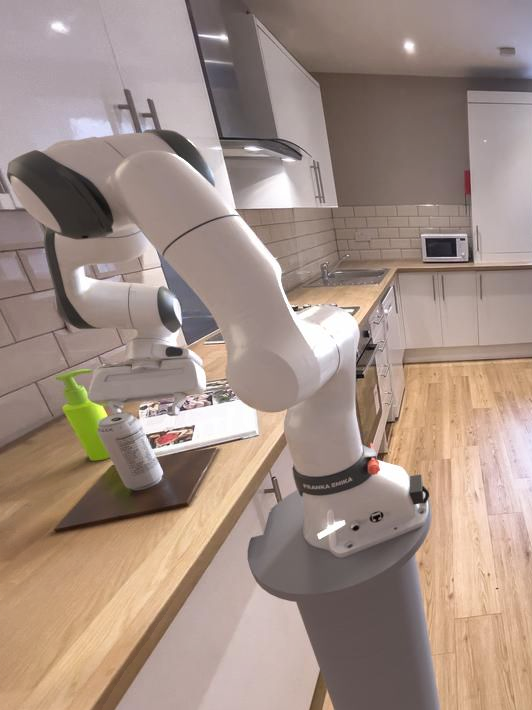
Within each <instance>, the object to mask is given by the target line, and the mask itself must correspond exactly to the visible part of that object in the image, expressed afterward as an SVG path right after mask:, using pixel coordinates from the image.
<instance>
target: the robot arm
mask: <svg viewBox="0 0 532 710" xmlns="http://www.w3.org/2000/svg"><path fill="white" fill-rule="evenodd" d="M6 177H7V179H8V181H9V184H10V186H11V188H12V191H13V193H14V196H15V197H16V199H17V200H18V202H19V203H20V205H21V206H22V207H23V208H24V209H25V211H26V212H27V213H28V214H29V215H31V216H32V217H33V218H34V219H35V220H36V221H38V222H39V223H40V224H42V225H44V226H45V227H46V228H45V231H44V237H43V246H44V247H43V248H44V253H45V258H46V262H47V268H48V270H49V274H50V279H51V281H52V286H53V289H54V290H53V291H54V295H55V296H54V298H55V299H54V300H55V301H54V302H55V303H54V305H55V309H56V311H57V314H58V316H59V318H60V319H61V320H63V321H64V322H66V323H67V324H69V325H70V326H72V327H74V328H76V329H78V330H93V329H94V330H97V329H98V330H99V329H101V330H102V329H114V330H115V329H116V330H127V331H128V334H129V335H128V338H127V340H126V341H125V348H124V349H125V350H124V358H123V361H119V362H118V361H117V362H107V363H103V364H102V363H101V365H100V366H98V367H96V368H94V370H93V371H92V378H91V381H90V384H89V387H88V391H87V393H88V396H87V397H88V399H89V400H90V401H91V402H93V403H95V404H98V405H100V406H103V407H106V406H108V408H109V409H110V410H111V412H112V414H117V413H123V411H122V410H121V409H122V408H124V404H131V403H139V402H145V401H155V400H164V399H172V398H173V399H175V400H174V402H173V403H172V404H171V405H168V406H167V407H166V410H167V411H166V415H168V416H169V417H174V416H175V417H176V416H180V409H181V408H182V406H183V405H184V404H185V402H186V401H187V397H189V396H199V395H202V394H204V393H205V391H206V390H207V378H206V371H205V369H203V359H202V358H201V357H200V356H199V355H198V354H196V353H195V352H194V351H192V350H191V349H189V348H187V347H182V346H178V343H177V339H178V337H179V334H180V328H181V327H182V325H183V305H182V302H181V300H180V298H179V297H178V296H177V294H175V293H174V292H172V290H170V288H167V287H166V286H164V285H158V284H154V283H153V284H152V283H139V282H127V281H126V282H125V281H115V280H114V281H113V280H103V279H96V278H93V277H92V278H91V277H88V276H86V271H85V267H87V266H88V267H89V266H95V265H108V264H110V265H111V264H121V263H122V264H123V263H127V262H131V261H133V260H135V259H137V258H140V257H141V256H143V255H144V254H145V253H146V252H148V251H149V250H150V248H151V247H153V248H154V249H155V250H156V251H157V253H159V254H160V256H161V257H162V258H163V259H164V260H165V261H166V262H167V263H168V265H169V266H170V267H171V268H172V269H173V270H174V271H175V272H176V273H177V274H178V276H179V277H180V278H181V280H183V281H184V282H185V283H186V284H187V286H188V287H189V288H190V289H191V290H192V292H193V293H195V295H196V296H197V297H198V299H200V301H201V302H202V303H203V305H204V306H205V307H206V308H207V310H208V311H209V313H210V315H211V316H212V318H213V319H214V321H215V323H216V326H217V327H218V330H219V331H220V334H221V337H222V340H223V342H224V346H225V350H226V364H225V379H226V382H227V385H228V387H229V388H230V391H232V393H233V395H234V396H235V397H236V398H237V399H238V400H239V401H241V402H242V403H243V404H244V405H246V406H248V407H249V408H251V409H254V410H256V411H259V412H262V413H269V414H270V413H271V414H275V413H281V412H284V411H286V412H285V415H284V419H283V433H284V436H285V440H286V444H287V446H288V450H289V453H290V457H291V460H292V463H293V464H292V465H293V466H292V468H291V469H292V477H293V481H294V484H295V487H296V490H298V491H299V494H300V496H302V501H303V509H304V526H303V535H304V538H305V540H306V541H307V542H308V543H309V544H311V545H312V546H314V547H317V548H321V549H326V550H329V551H330V552H331V553H332V554H334V555H335V556H336V557H339V558H343V557H347V556H349V555H352V554H354V553H357V552H359V551H362V550H364V549H367V548H369V547H372V546H374V545H377V544H379V543H382V542H384V541H387V540H389V539H392V538H394V537H397V536H399V535H402V534H404V533H407V532H409V531H412V530H414V529H417V528H419V527H421V526H423V525H424V523H425V521H426V519H427V517H428V511H429V506H428V498H430V492H429V490H428V488H427V487H425V486H424V482H423V475H422V474H415V475H409V474H408V473H407V471H406V470H405V469H404V468H403V467H402V466H400V465H397V464H392V463H390V462H386V461H383V460H379V459H378V456H377V452H376V450H375V447H374V445H373V443H372V442H370V447H368V446H365V444H363V443H362V438H361V433H360V428H359V423H358V417H357V407H356V390H357V389H356V387H357V386H356V385H357V384H356V383H357V381H356V379H357V351H358V346H359V343H360V337H361V335H360V334H361V333H360V327H359V325H358V323H357V321H356V319H355V318H354V317H353V316H352V314H351V313H349V312H348V311H346V310H345V309H343V308H341V307H340V306H337V305H330V304H326V305H325V304H324V305H323V304H322V305H314V306H309V307H305V308H302V309H301V310H298V311H297V312H295V311H294V309H293V307H292V306H291V304H290V301H289V299H288V298H287V295H286V293H285V291H284V287H283V284H282V273H283V272H282V267H281V265H280V263H279V261H278V260H277V259H276V257H274V256H273V254H272V253H271V252H270V251H269V249H268V248H267V247H266V245H265V244H264V243H263V241H262V240H260V238H259V237H258V236H257V235H256V233H255V232H254V231H253V230H252V228H251V227H250V226H249V225H248V224H247V222H246V221H245V219H244V218H243V217H242V216H241V215H240V214H239V212H237V210H236V209H235V208H234V207H233V205H232V204H231V203H230V202H229V201H228V200H227V199H226V197H225V196H224V195H223V194H222V193H221V192H220V191H219V190H217V188H216V180H215V175H214V172H213V169H212V168H211V166H210V164H209V162H208V160H207V158H206V157H205V155H204V154H203V153H202V151H201V150H200V149H199V148H198V147H197V146H196V144H194V143H193V142H192V141H191V140H190V139H188V138H187V137H185V136H184V135H182V134H181V133H179V132H177V131H175V130H171V129H161V128H160V129H159V128H158V129H154V128H151V129H145V130H144V131H143V132H131V133H119V134H112V135H111V134H110V135H105V136H99V137H97V136H90V137H85V138H81V139H66V140H65V139H64V140H61V141H57V142H55V143H53V144H51V145H49V147H47V149H45V150H37V149H33V150H31V151H29V152H26V153H23V154H21V155H19V156H17V157H15V158H14V159H12V160H10V161H9V162H8V164H7V171H6ZM408 475H409V476H410V477H409V476H408ZM350 547H351V548H350Z"/></svg>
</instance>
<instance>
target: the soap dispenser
mask: <svg viewBox="0 0 532 710" xmlns="http://www.w3.org/2000/svg"><path fill="white" fill-rule="evenodd" d="M90 373H93V369H90V368H83V369H76V370H71V371H67V372H65V373H62V374H59V375H56V376H55V379H56V380H57V381H61V382H62V383H63V384H64V386H65V388H64V389H63V390H62V394H63V396H64V398H65V399H66V401H67V403H66V404H64V405H62V407H61V409H62V411H63V413H64V415H65V417H66V419H67V421H68V422H69V425H70V426H71V428H72V429H73V432H74V433H75V435H76V436H77V439H78V440H79V442H80V444H81V447H82V448H83V450H84V451H85V453H86V456H87V457H88V458H89V460H90V461H94V462H98V461H103V460H107V459H111V458H110V456H109V454H108V452H107V450H106V448H105V447H104V445H103V443H102V441H101V439H100V437H99V435H98V433H97V431H98V427H99V425H98V421H99V420H101V419H103V418H105V417H107V416H108V414H107V412H106V410H105V407H104V406H100V405H98V404H95V403H93V402H91V401H90V400H89V399H88V397H87V396H88V391H87V389H86V388H85V386H84V385H80V384H78V383H77V381H76V380H75V377H76V376H79V375H84V374H90Z"/></svg>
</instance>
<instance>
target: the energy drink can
mask: <svg viewBox="0 0 532 710" xmlns="http://www.w3.org/2000/svg"><path fill="white" fill-rule="evenodd" d="M122 412H123V411H122ZM98 425H99V427H98V431H97V433H98V435H99V437H100V439H101V441H102V443H103V445H104V447H105V448H106V450H107V452H108V454H109V456H110V458H109V459H110V460H111V462H112V465H114V466H115V467H116V469H117V471H118V473H119V475H120V477H121V479H122V481H123V483H124V485H125V486H126V487H127V488H131V489H132V490H143V489H146V488H149V487H151V486H153V485H155V484H157V483H158V482H159V481H160V480H161V478H162V477H161V476H162V475H163V471H162V469H161V466H160V464H159V462H158V460H157V455H156V454H155V451H154V450H153V447H152V445H151V443H150V440H149V439H148V436H147V435H146V432H145V430H144V428H143V426H142V424H141V422H140V420H139V419H138V418H137V417H135V416H133V415H132V413H131V412H127V411H125V412H123V413H117V414H114V413H112V414H110V415H107V417H105V418H103V419H101V420H99V421H98Z"/></svg>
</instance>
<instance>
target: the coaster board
mask: <svg viewBox="0 0 532 710" xmlns="http://www.w3.org/2000/svg"><path fill="white" fill-rule="evenodd" d="M218 452H219V447H218V446H216V447H209V448H204V449H198V450H193V451H187V452H180V453H174V454H168V455H163V456H156V458H157V460H158V462H159V464H160V466H161V469H162V471H163V475H162V476H161V477H162V478H161V480H160V481H159V482H158V483H157V484H155V485H153V486H151V487H149V488H146V489H143V490H132V489H131V488H127V487H126V486H125V485H124V483H123V481H122V479H121V477H120V475H119V473H118V471H117V469H116V467H115V466H114V464H112V465H110V467H108V469H107V470H106V471H105V472H104V473H103V474H102V476H100V478H99V479H98V480H97V481H96V482H95V483H94V484H93V485H92V486H91V487H90V489H89V490H87V492H86V493H85V494H84V495H83V496H82V497H81V498H80V500H79V501H78V502H77V503H76V504H75V505H74V506H73V507H72V508H71V510H70V511H68V513H67V514H66V515H65V516H64V517H63V518H62V519H61V520H60V521H59V522H58V524H57V525H56V526H55V527H54V528H53V531H54V533H61V532H67V531H70V530H76V529H80V528H86V527H91V526H94V525H99V524H105V523H109V522H115V521H120V520H124V519H130V518H135V517H140V516H144V515H149V514H154V513H159V512H163V511H168V510H173V509H178V508H182V507H187V506H190V504H191V502H192V500H193V498H194V496H195V495H196V493H197V491H198V489H199V487H200V486H201V484H202V481H203V480H204V478H205V476H206V475H207V472H208V470H209V469H210V467H211V465H212V463H213V461H214V459H215V458H216V456H217V454H218Z"/></svg>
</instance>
